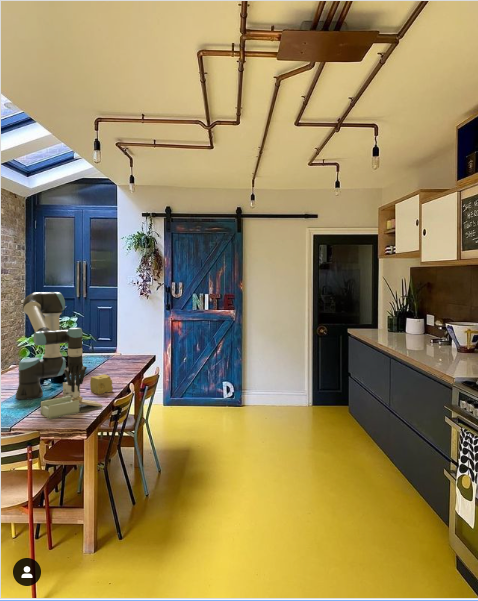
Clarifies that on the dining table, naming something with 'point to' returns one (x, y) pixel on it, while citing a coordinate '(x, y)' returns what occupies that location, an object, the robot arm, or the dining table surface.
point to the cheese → (101, 384)
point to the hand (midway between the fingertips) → (75, 397)
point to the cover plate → (86, 401)
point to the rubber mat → (87, 407)
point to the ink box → (68, 390)
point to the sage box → (59, 407)
